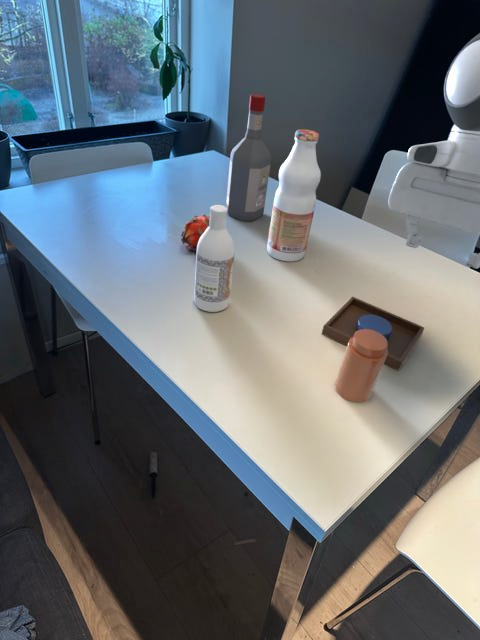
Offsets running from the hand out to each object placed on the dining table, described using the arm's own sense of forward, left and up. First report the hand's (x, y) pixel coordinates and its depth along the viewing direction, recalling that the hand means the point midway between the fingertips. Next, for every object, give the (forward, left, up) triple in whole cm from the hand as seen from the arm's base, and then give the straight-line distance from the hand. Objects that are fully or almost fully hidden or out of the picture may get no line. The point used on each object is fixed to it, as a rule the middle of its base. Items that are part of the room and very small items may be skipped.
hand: (440, 256), depth 67 cm
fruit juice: (+35, -20, -22) cm, 46 cm away
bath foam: (+35, +9, -22) cm, 42 cm away
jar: (+3, +12, -22) cm, 25 cm away
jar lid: (+6, -5, -20) cm, 21 cm away
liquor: (+55, -31, -22) cm, 67 cm away
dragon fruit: (+51, -7, -22) cm, 56 cm away
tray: (+6, -4, -22) cm, 23 cm away
